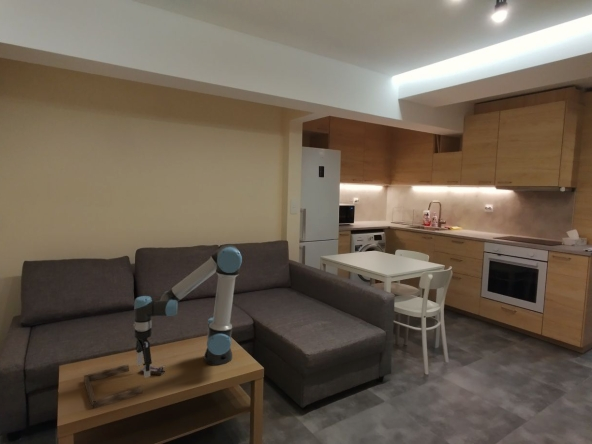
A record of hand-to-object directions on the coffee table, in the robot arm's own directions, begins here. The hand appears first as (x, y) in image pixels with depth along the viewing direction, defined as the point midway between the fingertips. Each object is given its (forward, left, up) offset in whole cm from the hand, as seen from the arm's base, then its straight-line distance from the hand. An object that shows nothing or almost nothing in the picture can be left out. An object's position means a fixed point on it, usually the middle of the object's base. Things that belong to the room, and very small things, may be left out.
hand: (143, 370), depth 172 cm
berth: (+8, +10, -4) cm, 14 cm away
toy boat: (-5, -5, -6) cm, 9 cm away
